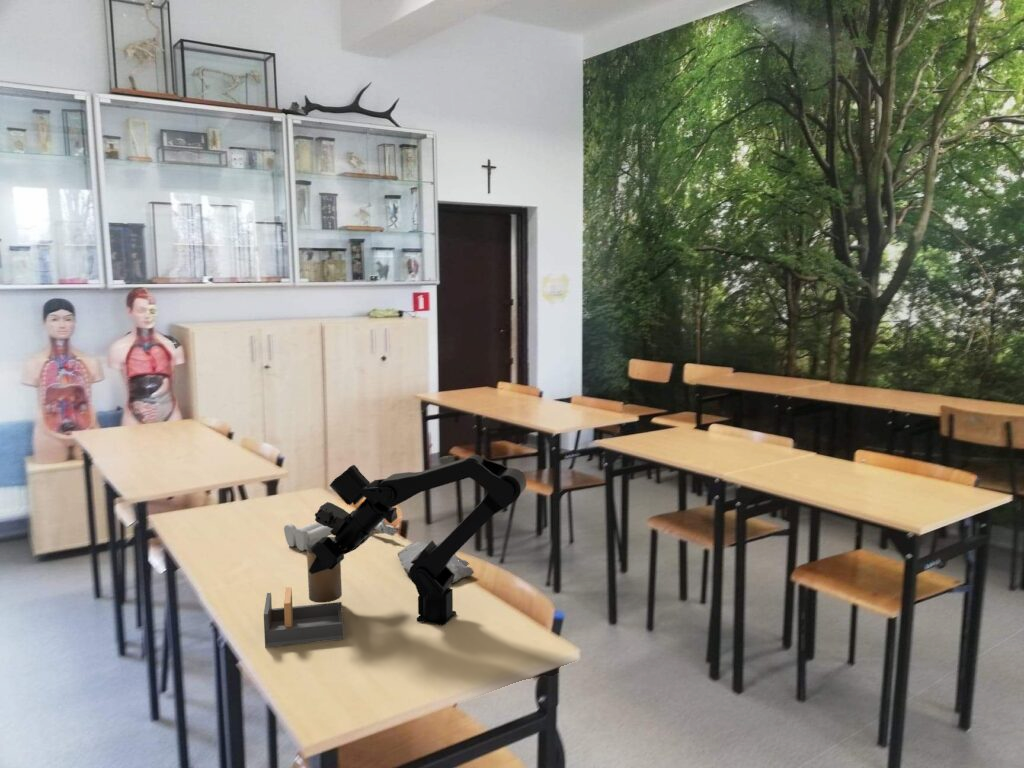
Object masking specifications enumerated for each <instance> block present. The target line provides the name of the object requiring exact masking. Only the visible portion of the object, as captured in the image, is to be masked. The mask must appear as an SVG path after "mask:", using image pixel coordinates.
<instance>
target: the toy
mask: <svg viewBox="0 0 1024 768" xmlns="http://www.w3.org/2000/svg"><path fill="white" fill-rule="evenodd" d="M283 530H284V531H283V532H284V537H285V540H286V541H285V542H286V543H287V545H288V547H296V548H297V549H298V550H299V551H300V552H303V551H307V550H306V543H307V542H308V541H309V540H312V539H315V538H320V537H330V536H333V534H332V533H331V532H330V531H331V530H332V528H329V527H327V526H323V525H322V524H320V523H318V522H316V521H315V522H313V523H310V524H308V525H305V526H301V527H297V526H296V525H294V524H293V523H288V524H286V525H284V527H283ZM374 530H376V531H377V532H379V533H381V534H386V535H390V536H392V537H394V536H395V534H397V532H398V530H397V529H396V527H395V526H393V525H390V524H386V519H385V518H384V519H383V520H382V521H381V522H380V523H379V524H378V525H377V526H376V527H375V528H374Z"/></svg>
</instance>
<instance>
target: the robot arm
mask: <svg viewBox="0 0 1024 768" xmlns="http://www.w3.org/2000/svg"><path fill="white" fill-rule="evenodd" d="M468 478H470V479H471V480H473V481H474V482H476V483H477V484H478V485H479V486H481V488H483V489H484V490H486V491H487V492H486V494H485V495H484V497H483V499H482V500H481V502H480V503H478V505H477V506H475V507H474V509H473V510H472V511H471V512H470V513H469V514H468V515H467V516H465V518H464V519H463V520H462V521H461V522H460V523H459V524H458V525H457V526H456V527H455V528H454V529H453V530H451V532H450V533H449V534H448V535H447V536H446V537H445V538H444V539H443V541H441V542H439V543H437V544H436V543H435V542H434V540H431V541H429V543H427V544H428V545H427V546H426V547H425V548H424V549H423V551H421V552H420V553H419V554H418V555H417V556H415V558H414V559H413V560H412V561H411V563H412V564H413V565H412V566H411V568H410V570H409V573H408V574H409V577H410V578H409V579H410V580H411V582H412V584H413V585H415V588H416V590H417V591H416V592H417V593H418V596H417V614H418V616H417V617H416V618H415V619H416V622H421V623H427V624H432V625H436V626H445V625H446V624H447V623H448V622H449V621H451V619H452V618H454V617H455V616H456V615H457V611H455V610H453V608H454V607H453V605H454V604H453V603H454V601H453V600H454V597H453V592H454V591H453V588H450V586H451V585H452V584H453V583H452V582H453V579H454V577H455V575H454V573H453V571H451V570H450V569H449V568H448V567H447V564H448V563H449V561H450V560H451V558H452V556H453V555H454V554H455V555H456V554H457V552H458V551H459V550H460V549H462V547H463V546H464V545H465V544H466V543H467V542H468V541H469V540H471V538H472V537H473V536H474V535H475V534H477V532H479V530H480V529H481V528H482V527H483V526H484V525H486V523H487V522H488V521H489V520H490V519H491V518H492V517H493V516H494V515H495V514H497V513H499V512H501V511H503V510H504V509H506V508H507V507H509V506H510V505H512V504H513V503H514V502H516V501H517V500H518V499H519V497H520V496H521V495H522V493H523V492H524V491H525V489H526V488H527V478H526V475H525V474H524V473H523V471H521V470H520V469H518V468H512V467H510V468H509V467H507V466H506V465H503V464H501V463H499V462H496V461H493V460H490V459H487V458H485V457H483V456H481V455H480V454H471V455H469V456H468V457H465V458H461V459H458V460H454V461H452V462H448V463H445V464H442V465H439V466H436V467H435V466H434V467H432V468H429V469H426V470H423V471H418V472H417V471H416V472H410V471H409V472H399V473H393V474H391V475H389V476H387V478H382V479H381V478H379V479H374V480H373V481H371V482H370V481H369V479H367V478H366V477H365V476H364V474H363V473H362V472H361V471H360V470H359V468H358V467H357V466H356V465H355V464H352V465H351V466H349V467H348V468H347V469H346V470H345V471H343V472H342V473H341V474H340V475H338V476H337V477H335V478H334V479H333V480H332V482H331V483H330V484H329V487H330V488H331V489H332V490H333V491H334V492H335V493H336V494H337V495H338V497H339V498H340V499H341V500H342V501H343V502H345V504H346V505H348V506H351V505H352V504H353V505H354V506H356V505H358V504H359V503H360V501H362V500H363V499H364V498H365V499H364V500H363V501H362V502H361V503H360V504H359V505H358V506H357V507H356V508H355V509H354V510H352V511H351V512H348V511H346V510H345V509H343V508H341V507H339V506H338V505H336V504H334V503H332V502H329V501H326V502H325V503H324V504H322V505H320V506H319V507H318V508H319V509H318V510H317V511H316V512H314V517H315V519H314V520H315V523H316V522H318V523H320V524H322V525H323V526H327V527H329V528H332V530H331V531H330V532H331V533H332V537H333V536H334V539H335V540H336V541H338V542H336V543H334V542H333V541H332V539H331V538H330V537H331V536H328V537H323V538H322V539H320V540H319V541H318V542H316V543H315V544H314V545H313V546H312V547H311V550H312V552H313V553H314V554H315V555H316V558H315V560H314V562H313V563H312V565H311V567H310V569H309V572H310V573H311V574H314V573H317V572H320V571H323V570H326V569H331V570H332V569H333V568H334V567H336V566H337V565H338V564H339V563H340V562H342V561H343V560H344V559H345V555H347V554H349V553H351V552H353V551H355V550H356V549H358V548H359V547H360V546H361V545H363V544H364V543H365V542H367V541H368V539H369V538H370V537H371V533H372V532H373V531H374V530H375V529H374V528H375V527H376V526H377V525H378V524H379V523H380V522H381V521H382V520H383V519H384V518H385V521H387V522H388V523H389V524H392V523H393V522H394V521H396V520H397V518H398V512H397V510H398V508H397V507H396V506H398V505H399V504H401V503H404V502H406V501H407V500H409V499H411V498H413V497H414V496H416V495H418V494H420V493H421V492H425V491H429V490H431V489H435V488H439V487H443V486H445V485H446V486H447V485H448V484H452V483H455V482H458V481H461V480H465V479H468ZM339 547H340V548H339Z"/></svg>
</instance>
